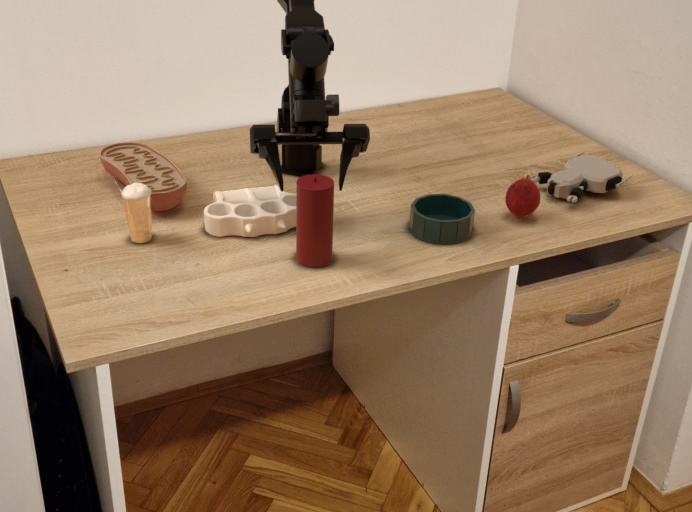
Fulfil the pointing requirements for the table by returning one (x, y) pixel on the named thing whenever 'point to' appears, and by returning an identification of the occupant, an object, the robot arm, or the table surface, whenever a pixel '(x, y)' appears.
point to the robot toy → (581, 177)
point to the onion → (523, 197)
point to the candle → (314, 220)
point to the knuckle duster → (250, 212)
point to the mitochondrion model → (145, 172)
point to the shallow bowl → (441, 218)
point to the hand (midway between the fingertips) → (311, 190)
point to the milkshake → (138, 211)
